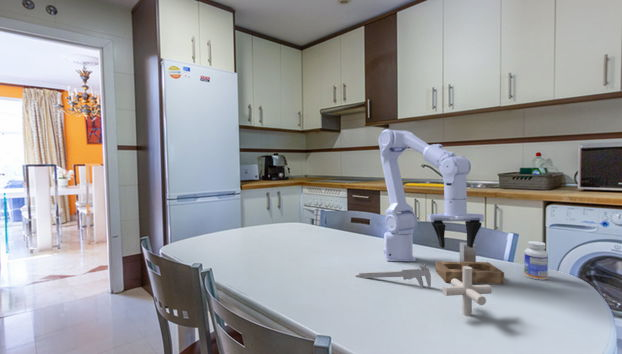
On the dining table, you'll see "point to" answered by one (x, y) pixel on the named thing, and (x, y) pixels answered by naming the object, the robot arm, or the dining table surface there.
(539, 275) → the pill bottle
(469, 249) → the square bit
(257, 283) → the dining table surface
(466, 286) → the wooden cross jack
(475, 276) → the socket block
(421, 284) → the caliper
